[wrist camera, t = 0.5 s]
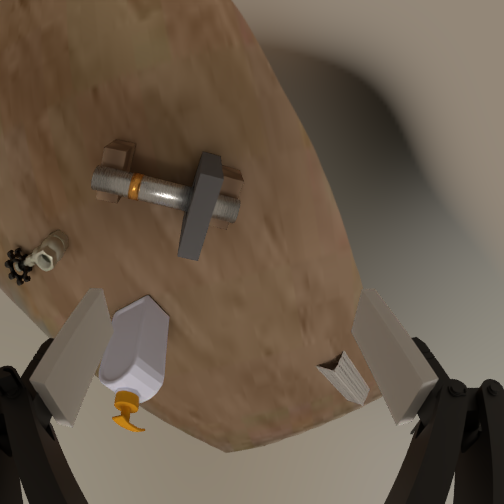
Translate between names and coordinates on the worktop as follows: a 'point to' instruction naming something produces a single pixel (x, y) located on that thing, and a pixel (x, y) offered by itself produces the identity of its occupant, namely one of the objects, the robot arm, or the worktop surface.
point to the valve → (38, 256)
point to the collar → (201, 206)
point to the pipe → (157, 192)
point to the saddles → (121, 159)
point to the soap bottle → (135, 357)
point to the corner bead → (347, 380)
